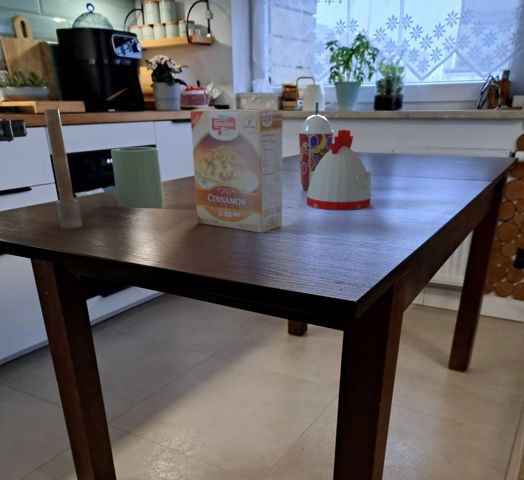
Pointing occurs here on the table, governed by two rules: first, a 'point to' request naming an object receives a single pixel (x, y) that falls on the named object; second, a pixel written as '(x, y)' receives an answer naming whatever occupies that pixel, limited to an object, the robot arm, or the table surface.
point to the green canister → (137, 177)
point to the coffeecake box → (238, 168)
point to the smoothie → (313, 144)
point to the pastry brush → (62, 173)
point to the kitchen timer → (340, 178)
